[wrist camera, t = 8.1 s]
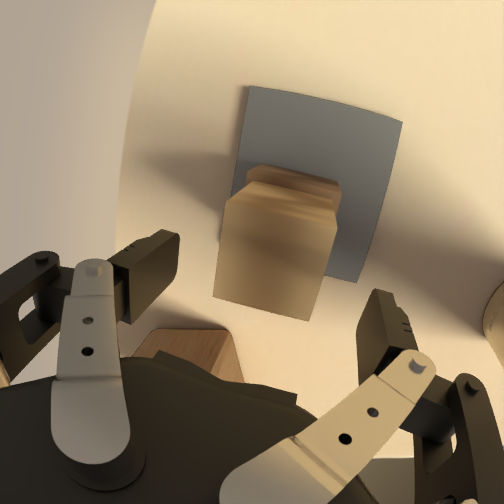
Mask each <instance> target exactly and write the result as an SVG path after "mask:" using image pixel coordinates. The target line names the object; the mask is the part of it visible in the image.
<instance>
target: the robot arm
mask: <svg viewBox="0 0 504 504" xmlns="http://www.w3.org/2000/svg"><path fill="white" fill-rule="evenodd" d="M179 243H180V236H179V234H177V233H174V232H170V231H167V230H163V229H161V230H159V231H158V232H156V233H155V234H153V235H152V236H150V237H146V238H142V239H139V240H136V241H135V242H133V243H132V244H130V245H129V246H127V247H126V248H124V249H123V250H121V251H119V252H118V253H116V254H115V255H114V256H112V257H111V258H109V259H108V260H102V259H88V260H84V261H82V262H80V263H78V264H77V266H76V267H75V269H74V268H68V267H62V266H60V260H59V256H58V254H56V253H55V252H51V251H40V252H37V253H34V254H32V255H30V256H28V257H27V258H25V259H24V260H22V261H20V262H19V263H17V264H16V265H14V266H13V267H11V268H9V269H8V270H6V271H5V272H3V273H2V274H1V275H0V504H379V503H378V501H377V500H376V499H375V497H374V496H373V495H372V493H371V492H370V490H369V489H368V488H367V487H366V485H365V483H364V482H363V481H362V479H361V478H360V476H359V475H358V473H359V472H360V471H361V469H363V467H364V466H365V465H366V464H367V463H368V462H369V461H370V460H371V459H372V458H373V457H374V456H375V455H376V453H377V452H378V451H379V450H380V449H381V448H382V447H383V445H384V444H385V443H386V442H387V441H388V440H389V438H390V437H391V436H392V435H393V434H394V432H395V431H396V430H397V429H398V428H400V429H403V430H405V431H407V432H410V433H412V434H413V442H414V463H415V464H414V465H415V504H504V450H503V446H502V442H501V438H500V434H499V430H498V427H497V423H496V420H495V416H494V413H493V410H492V406H491V403H490V400H489V397H488V394H487V391H486V389H485V387H484V385H483V384H482V382H481V381H480V380H479V379H478V378H476V377H475V376H473V375H471V374H468V373H462V374H459V375H458V376H457V377H456V379H455V380H454V381H453V382H451V381H448V380H446V379H444V378H442V377H439V376H437V375H435V374H436V367H435V365H434V363H433V361H432V360H431V359H430V358H429V357H428V356H426V355H425V354H423V353H422V352H419V350H418V347H417V344H416V340H415V337H414V334H413V333H412V332H413V331H412V328H411V326H410V322H409V319H408V316H407V315H406V314H405V312H404V311H403V310H402V309H401V308H399V307H397V306H396V303H395V300H394V296H393V294H392V293H390V292H387V291H383V290H379V289H376V288H375V289H374V290H373V291H372V293H371V295H370V297H369V299H368V302H367V304H366V306H365V309H364V311H363V313H362V315H361V318H360V320H359V322H358V326H357V330H356V344H357V360H358V380H359V387H358V388H357V389H355V390H354V391H353V392H352V393H351V394H350V395H348V396H347V397H346V398H345V399H343V400H342V401H341V402H340V403H339V404H337V405H336V406H335V407H334V408H332V409H331V410H330V411H328V412H327V413H326V414H325V415H323V416H322V417H321V418H319V419H317V418H316V417H315V416H313V415H312V414H311V413H309V412H308V411H306V410H305V409H303V408H301V407H299V406H297V405H296V400H297V394H295V393H291V392H287V391H283V390H280V389H276V388H272V387H268V386H265V385H259V384H249V383H239V382H231V381H224V380H221V379H219V378H218V377H216V376H214V375H212V374H211V373H209V372H207V371H206V370H204V369H202V368H201V367H199V366H197V365H196V364H194V363H192V362H190V361H188V360H185V359H182V358H180V357H177V356H174V355H172V354H169V353H167V352H164V351H162V350H158V352H157V353H156V354H155V356H154V357H153V358H149V357H124V358H120V351H119V343H118V333H117V323H118V322H119V321H120V320H121V321H123V322H125V323H128V324H130V325H131V324H132V323H133V322H134V321H135V320H136V319H137V318H138V317H139V316H140V315H141V314H142V313H143V312H144V311H145V310H146V308H147V307H148V306H149V305H150V304H151V303H152V302H153V301H154V300H155V299H156V298H157V297H158V296H159V295H160V294H161V293H162V292H163V291H164V290H165V289H166V288H167V287H168V286H169V285H170V284H171V282H172V281H173V280H174V278H175V275H176V272H177V266H178V254H179ZM31 296H33V300H34V304H35V309H34V310H32V311H31V312H30V313H29V314H28V315H27V316H25V317H24V318H23V319H22V320H21V321H19V317H18V312H19V308H20V306H21V305H22V304H23V303H24V302H25V301H27V300H28V299H29V298H30V297H31ZM59 332H60V337H59V348H58V360H57V374H56V375H55V376H51V377H46V378H42V379H38V380H34V381H29V382H25V383H21V384H16V385H11V386H10V382H12V380H13V379H14V378H15V377H16V376H17V375H18V374H19V373H20V372H21V371H22V370H23V369H24V368H25V366H26V365H27V364H28V363H29V362H30V361H31V360H32V359H33V358H34V357H35V356H36V355H37V354H38V353H39V352H40V351H41V350H42V349H43V348H44V347H45V346H46V345H47V343H49V342H50V341H51V340H52V339H53V337H55V336H56V335H57V334H58V333H59ZM483 332H484V334H485V337H486V338H487V340H488V342H489V343H490V345H491V347H492V349H493V350H494V352H495V354H496V356H497V358H498V360H499V361H500V363H501V365H502V367H503V369H504V283H503V284H502V285H501V286H500V287H499V288H498V289H497V291H496V292H495V293H494V295H493V296H492V298H491V300H490V301H489V303H488V305H487V308H486V310H485V313H484V317H483ZM454 434H456V440H457V445H456V449H455V451H454V453H453V449H452V442H451V437H452V436H453V435H454Z"/></svg>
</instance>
